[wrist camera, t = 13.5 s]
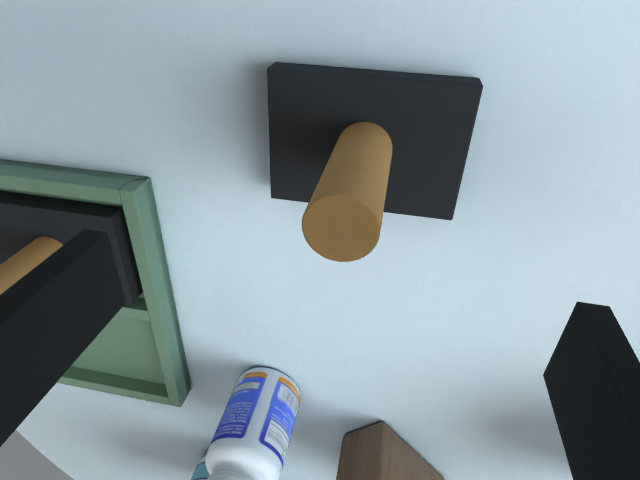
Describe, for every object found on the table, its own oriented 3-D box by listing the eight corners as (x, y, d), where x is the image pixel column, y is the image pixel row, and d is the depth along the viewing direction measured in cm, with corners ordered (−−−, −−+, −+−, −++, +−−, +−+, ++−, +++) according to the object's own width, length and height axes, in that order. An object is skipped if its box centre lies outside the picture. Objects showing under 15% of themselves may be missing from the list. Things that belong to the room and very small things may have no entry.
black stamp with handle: (-14, 188, 29) (-172, 272, 22) (123, 206, 28) (7, 303, 20) (22, 271, 33) (-102, 368, 25) (144, 291, 32) (53, 400, 24)
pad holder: (-38, 154, 29) (-66, 166, 28) (150, 177, 27) (133, 191, 26) (52, 361, 40) (36, 378, 39) (191, 388, 38) (181, 407, 37)
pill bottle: (235, 397, 38) (185, 515, 30) (242, 356, 35) (189, 476, 27) (295, 416, 38) (261, 540, 30) (308, 377, 35) (273, 504, 27)
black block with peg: (275, 61, 22) (194, 119, 14) (480, 77, 21) (515, 151, 13) (277, 187, 26) (215, 285, 18) (450, 207, 25) (464, 325, 17)
